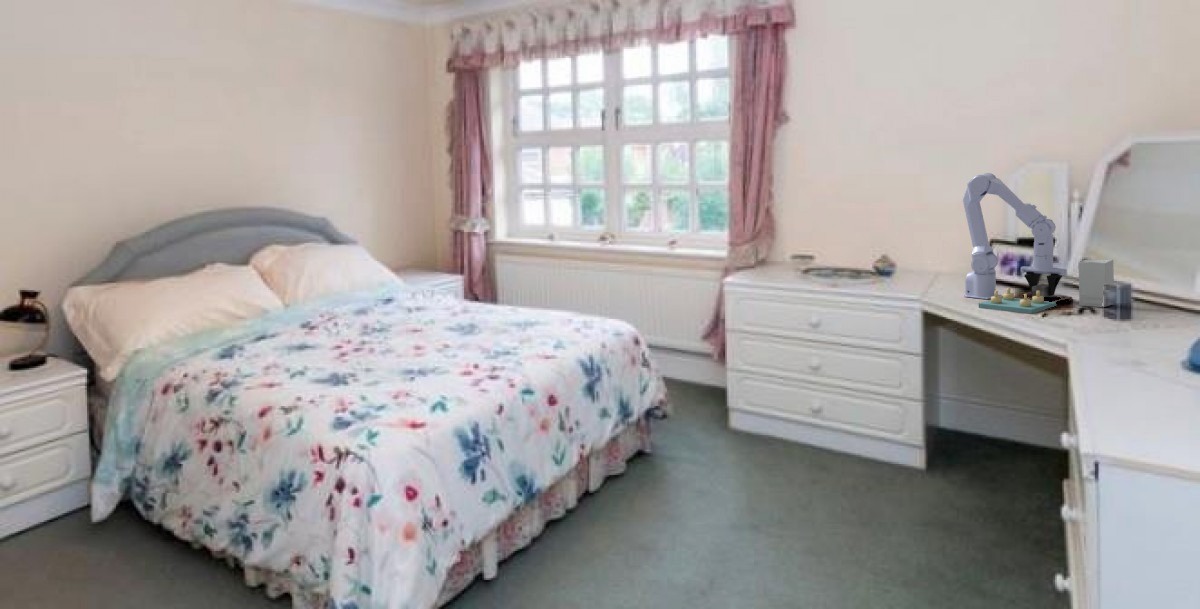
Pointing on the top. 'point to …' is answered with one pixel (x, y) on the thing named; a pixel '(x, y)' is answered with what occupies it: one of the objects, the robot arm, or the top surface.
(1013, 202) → the robot arm
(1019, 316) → the top surface
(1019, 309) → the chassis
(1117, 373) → the top surface
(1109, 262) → the skincare box
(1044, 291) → the board
